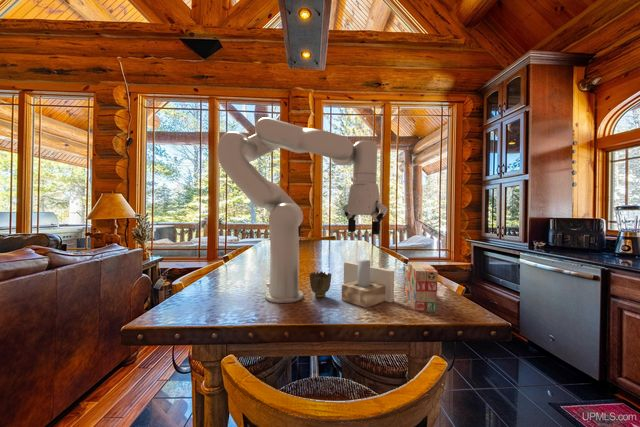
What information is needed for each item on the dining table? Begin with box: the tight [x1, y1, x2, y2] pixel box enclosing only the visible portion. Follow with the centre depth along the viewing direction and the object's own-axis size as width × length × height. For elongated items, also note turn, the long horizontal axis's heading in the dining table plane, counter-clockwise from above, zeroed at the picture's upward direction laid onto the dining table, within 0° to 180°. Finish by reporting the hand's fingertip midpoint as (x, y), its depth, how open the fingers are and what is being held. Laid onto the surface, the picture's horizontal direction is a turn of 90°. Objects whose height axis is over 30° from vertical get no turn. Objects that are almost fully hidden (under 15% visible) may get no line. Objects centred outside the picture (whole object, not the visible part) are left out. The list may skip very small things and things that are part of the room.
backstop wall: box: [343, 261, 395, 303], centre depth 100 cm, size 20×2×10 cm, turn 44°
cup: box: [308, 270, 332, 299], centre depth 97 cm, size 8×7×8 cm
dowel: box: [357, 259, 371, 288], centre depth 94 cm, size 4×4×12 cm
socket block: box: [341, 281, 386, 309], centre depth 94 cm, size 10×10×5 cm
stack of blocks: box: [403, 262, 439, 313], centre depth 95 cm, size 21×6×12 cm, turn 173°
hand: (363, 232), depth 94 cm, fingers open, 9 cm apart
